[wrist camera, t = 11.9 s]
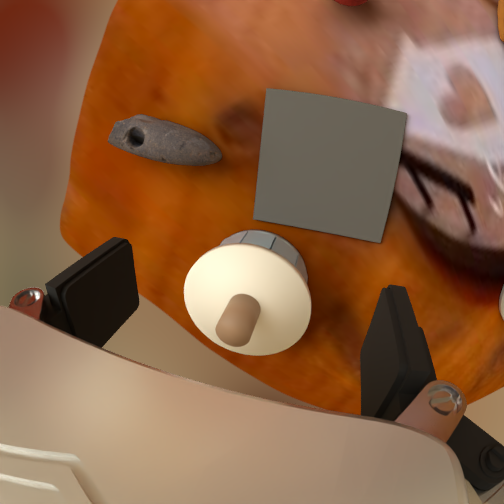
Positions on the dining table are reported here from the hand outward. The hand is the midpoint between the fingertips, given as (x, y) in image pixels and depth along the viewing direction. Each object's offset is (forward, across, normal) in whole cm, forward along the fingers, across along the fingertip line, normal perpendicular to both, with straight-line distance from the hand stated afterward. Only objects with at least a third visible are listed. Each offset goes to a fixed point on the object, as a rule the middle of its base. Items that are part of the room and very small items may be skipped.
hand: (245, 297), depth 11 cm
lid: (+22, +5, +16) cm, 28 cm away
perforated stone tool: (+29, +18, -2) cm, 34 cm away
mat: (+29, -2, -1) cm, 29 cm away
